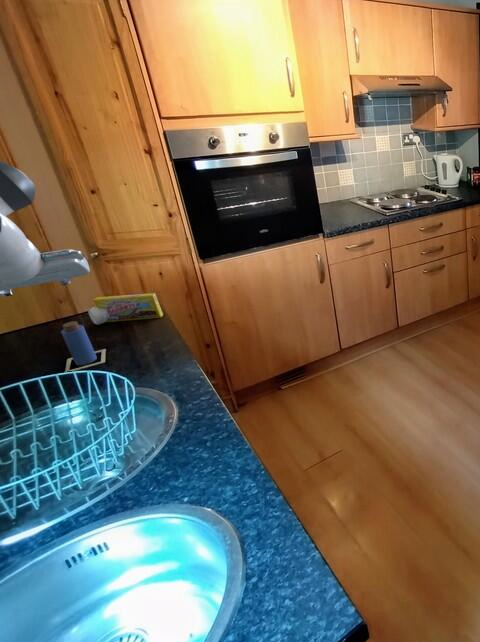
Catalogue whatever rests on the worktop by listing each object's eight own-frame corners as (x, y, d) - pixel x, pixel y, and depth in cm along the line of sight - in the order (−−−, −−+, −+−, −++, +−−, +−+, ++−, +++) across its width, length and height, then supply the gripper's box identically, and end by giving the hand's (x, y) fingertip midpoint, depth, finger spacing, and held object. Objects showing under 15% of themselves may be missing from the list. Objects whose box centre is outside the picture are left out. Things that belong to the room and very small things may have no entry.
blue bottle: (75, 367, 119) (57, 330, 115) (76, 360, 123) (59, 323, 118) (96, 361, 122) (80, 324, 117) (97, 354, 125) (81, 318, 120)
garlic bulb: (122, 318, 143) (116, 303, 141) (99, 327, 138) (93, 311, 136) (114, 314, 145) (108, 299, 143) (91, 322, 140) (85, 307, 138)
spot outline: (65, 373, 117) (64, 372, 117) (67, 359, 123) (67, 358, 123) (104, 362, 122) (104, 361, 122) (105, 349, 127) (105, 348, 127)
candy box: (102, 323, 141) (92, 299, 137) (106, 320, 142) (96, 296, 139) (160, 318, 144) (152, 295, 140) (164, 315, 146) (155, 292, 142)
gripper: (76, 236, 97) (94, 264, 108) (-68, 258, 86) (-31, 287, 97) (82, 261, 96) (100, 287, 107) (-63, 287, 84) (-25, 313, 95)
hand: (37, 287), depth 102 cm, fingers open, 8 cm apart
